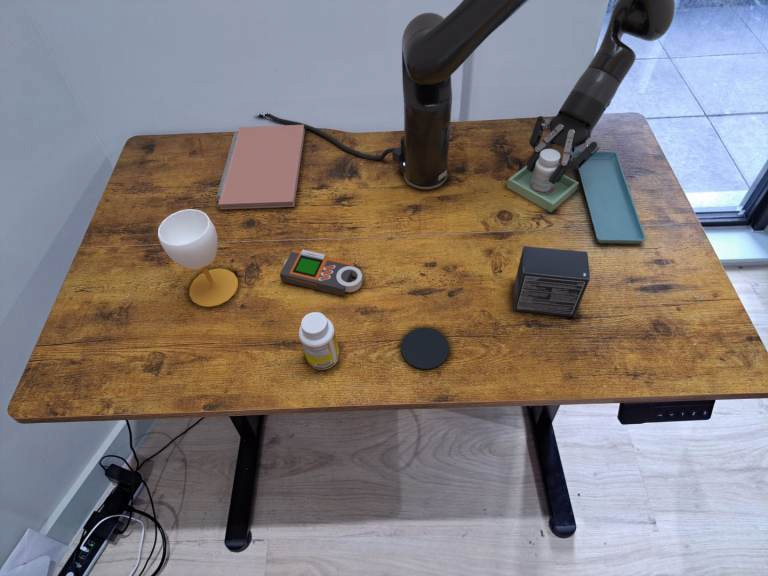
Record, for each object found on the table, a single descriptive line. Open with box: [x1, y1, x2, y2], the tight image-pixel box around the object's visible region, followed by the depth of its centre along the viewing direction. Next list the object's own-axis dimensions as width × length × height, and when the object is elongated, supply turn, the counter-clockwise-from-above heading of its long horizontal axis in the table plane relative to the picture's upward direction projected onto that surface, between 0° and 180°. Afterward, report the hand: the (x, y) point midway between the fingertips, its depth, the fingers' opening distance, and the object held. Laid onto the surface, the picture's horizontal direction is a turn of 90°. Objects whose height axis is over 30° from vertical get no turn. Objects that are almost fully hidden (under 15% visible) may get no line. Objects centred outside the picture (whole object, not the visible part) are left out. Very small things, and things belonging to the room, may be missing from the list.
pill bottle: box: [531, 148, 561, 194], centre depth 104 cm, size 5×5×8 cm
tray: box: [506, 165, 580, 213], centre depth 107 cm, size 11×9×2 cm
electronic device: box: [279, 248, 363, 297], centre depth 94 cm, size 7×3×15 cm
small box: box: [512, 245, 591, 318], centre depth 86 cm, size 11×6×10 cm, turn 80°
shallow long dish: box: [574, 150, 647, 245], centre depth 104 cm, size 26×9×2 cm, turn 177°
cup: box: [157, 208, 239, 308], centre depth 89 cm, size 9×9×16 cm
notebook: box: [215, 124, 306, 211], centre depth 115 cm, size 27×17×2 cm, turn 1°
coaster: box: [400, 326, 450, 371], centre depth 85 cm, size 8×8×1 cm
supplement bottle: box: [298, 311, 340, 371], centre depth 81 cm, size 6×6×10 cm
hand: (540, 176), depth 104 cm, fingers closed on pill bottle, 4 cm apart
